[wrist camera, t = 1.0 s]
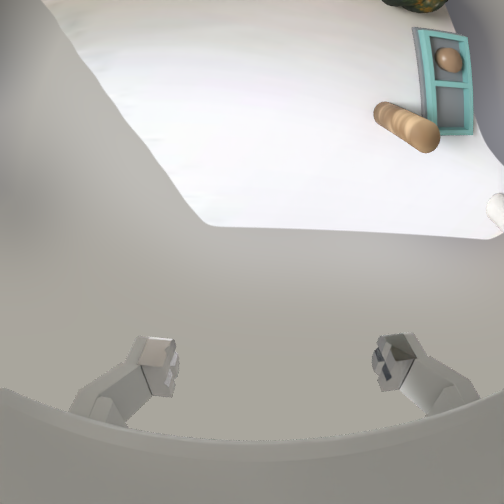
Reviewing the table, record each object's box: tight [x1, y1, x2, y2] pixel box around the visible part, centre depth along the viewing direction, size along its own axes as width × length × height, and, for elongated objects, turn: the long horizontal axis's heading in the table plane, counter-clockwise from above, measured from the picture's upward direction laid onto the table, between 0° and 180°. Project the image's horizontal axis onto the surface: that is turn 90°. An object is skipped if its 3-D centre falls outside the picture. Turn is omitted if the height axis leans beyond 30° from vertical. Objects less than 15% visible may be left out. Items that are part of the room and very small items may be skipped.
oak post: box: [374, 102, 440, 153], centre depth 35 cm, size 4×4×14 cm
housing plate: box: [412, 27, 473, 136], centre depth 34 cm, size 20×11×4 cm, turn 13°
